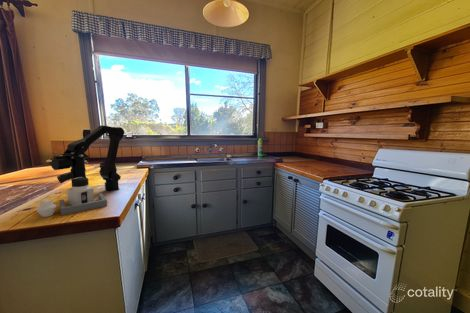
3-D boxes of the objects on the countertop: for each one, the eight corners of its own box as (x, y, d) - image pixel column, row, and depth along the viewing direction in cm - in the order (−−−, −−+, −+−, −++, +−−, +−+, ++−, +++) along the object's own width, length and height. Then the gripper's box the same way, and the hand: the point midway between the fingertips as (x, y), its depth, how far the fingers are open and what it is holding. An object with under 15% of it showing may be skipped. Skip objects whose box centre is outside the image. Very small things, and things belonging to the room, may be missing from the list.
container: (94, 201, 100) (93, 177, 98) (77, 207, 93) (76, 181, 91) (84, 199, 103) (83, 175, 101) (67, 204, 96) (65, 178, 94)
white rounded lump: (60, 212, 87) (59, 197, 86) (48, 218, 81) (46, 202, 80) (46, 212, 87) (44, 197, 86) (32, 218, 81) (31, 202, 80)
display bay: (102, 198, 105) (101, 193, 105) (107, 205, 96) (106, 199, 95) (60, 206, 94) (59, 200, 94) (61, 215, 84) (60, 208, 84)
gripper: (57, 165, 103) (60, 193, 105) (57, 171, 90) (59, 204, 92) (84, 163, 111) (85, 190, 113) (87, 169, 97) (89, 199, 99)
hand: (80, 195), depth 104 cm, fingers closed, pressing on container
